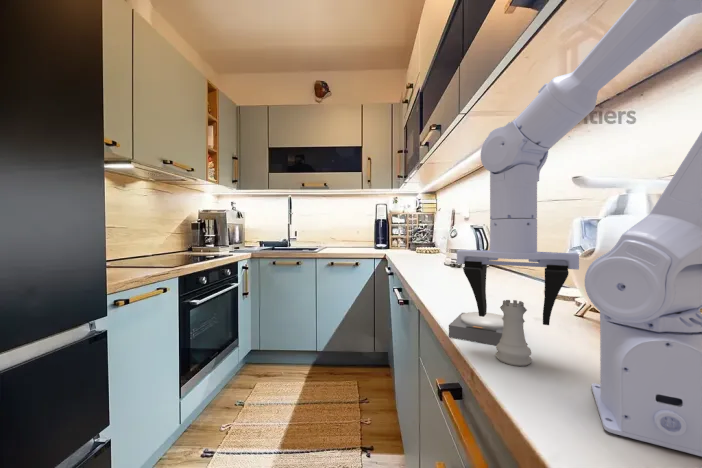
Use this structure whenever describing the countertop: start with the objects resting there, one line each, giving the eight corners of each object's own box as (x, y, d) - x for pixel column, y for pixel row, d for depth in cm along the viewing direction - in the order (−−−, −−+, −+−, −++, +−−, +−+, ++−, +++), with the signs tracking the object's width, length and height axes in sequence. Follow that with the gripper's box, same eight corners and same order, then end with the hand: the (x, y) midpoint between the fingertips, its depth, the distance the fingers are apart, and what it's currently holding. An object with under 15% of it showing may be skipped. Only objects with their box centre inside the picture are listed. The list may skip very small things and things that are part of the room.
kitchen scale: (516, 348, 47) (516, 330, 47) (448, 337, 52) (448, 320, 52) (520, 331, 55) (520, 315, 55) (462, 322, 60) (462, 308, 60)
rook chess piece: (523, 354, 44) (522, 298, 44) (538, 368, 40) (538, 305, 40) (490, 353, 45) (490, 298, 45) (502, 366, 40) (502, 305, 40)
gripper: (575, 219, 42) (575, 319, 42) (464, 221, 50) (464, 306, 50) (580, 217, 36) (580, 334, 36) (453, 220, 44) (453, 316, 44)
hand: (512, 318), depth 42 cm, fingers open, 7 cm apart
